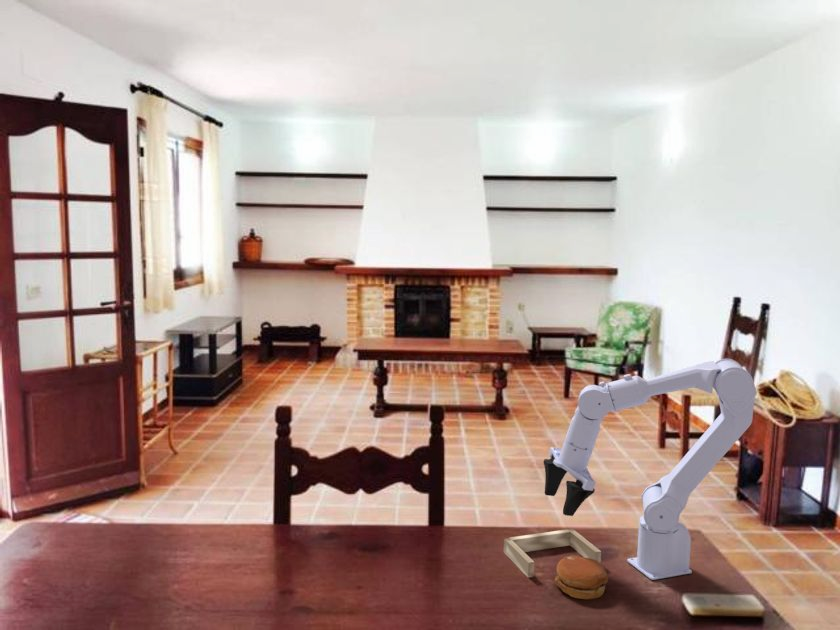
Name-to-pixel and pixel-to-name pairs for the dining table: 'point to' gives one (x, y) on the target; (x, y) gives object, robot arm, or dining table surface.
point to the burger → (581, 577)
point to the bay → (546, 547)
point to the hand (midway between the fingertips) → (558, 504)
